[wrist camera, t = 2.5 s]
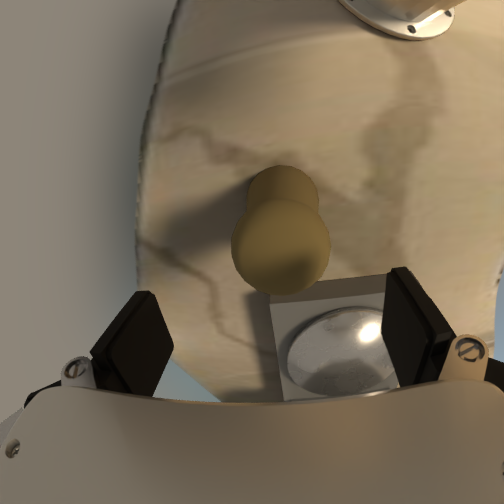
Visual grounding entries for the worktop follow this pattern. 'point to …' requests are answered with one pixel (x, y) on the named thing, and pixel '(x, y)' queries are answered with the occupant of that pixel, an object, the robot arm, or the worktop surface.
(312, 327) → the scale pan
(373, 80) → the worktop surface
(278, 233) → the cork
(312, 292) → the scale
